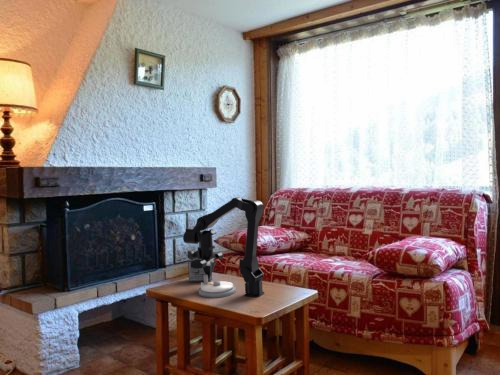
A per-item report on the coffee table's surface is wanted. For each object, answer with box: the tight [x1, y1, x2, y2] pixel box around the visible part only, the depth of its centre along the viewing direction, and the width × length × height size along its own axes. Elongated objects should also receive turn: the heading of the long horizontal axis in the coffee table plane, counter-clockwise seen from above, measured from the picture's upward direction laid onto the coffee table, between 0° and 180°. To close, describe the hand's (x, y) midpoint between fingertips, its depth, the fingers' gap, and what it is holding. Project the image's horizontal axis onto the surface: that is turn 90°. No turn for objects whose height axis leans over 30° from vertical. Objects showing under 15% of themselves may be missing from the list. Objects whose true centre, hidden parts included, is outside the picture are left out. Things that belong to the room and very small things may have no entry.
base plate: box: [198, 282, 236, 299], centre depth 184 cm, size 16×16×4 cm
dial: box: [200, 274, 234, 293], centre depth 184 cm, size 14×14×5 cm
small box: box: [187, 258, 213, 283], centre depth 205 cm, size 11×6×10 cm, turn 84°
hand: (208, 278), depth 189 cm, fingers closed
